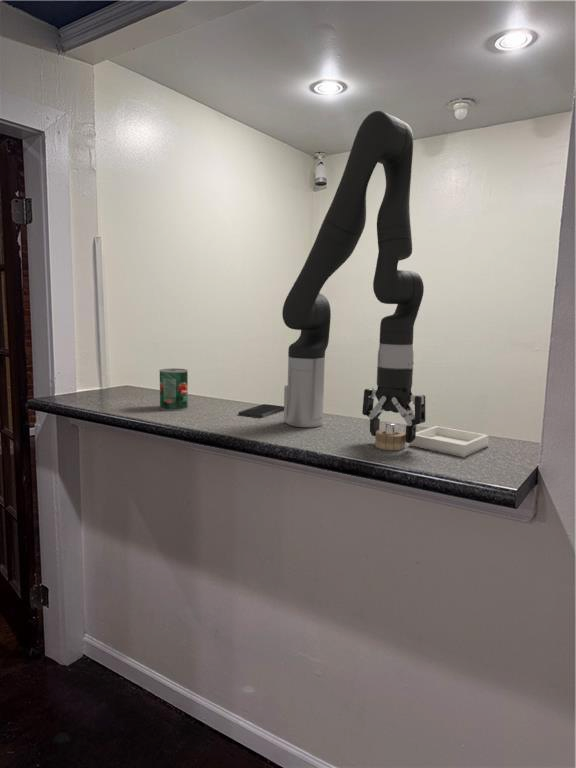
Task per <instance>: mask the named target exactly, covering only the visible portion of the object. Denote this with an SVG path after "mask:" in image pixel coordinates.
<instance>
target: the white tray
mask: <svg viewBox="0 0 576 768" xmlns="http://www.w3.org/2000/svg"><path fill="white" fill-rule="evenodd" d="M489 437H490V435H489V434H484V433H483V434H482V433H478V432H473V431H467V430H461V429H456V428H455V429H454V428H451V427H450V428H449V427H445V426H438V425H435V426H431V427H429V428H425V429H422V430H420V431H416V437H415V440H413V442H411V443H408V445H410V447H414V446H415V448H418V447H419V448H420V449H423V448H424V450H428V449H429V450H428V451H434V452H437V451H438V453H442V454H449V455H451V456H457V457H461V458H465V457H468V456H471V455H472V454H474V453H476V452H478V451H481V450H483V449H485V448H487V447H489V439H490V438H489Z"/></svg>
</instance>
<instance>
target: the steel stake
mask: <svg viewBox="0 0 576 768" xmlns="http://www.w3.org/2000/svg"><path fill="white" fill-rule="evenodd" d="M385 429H386V433H385V434H387V435H396V430H397V424H396V423H395V422H387V423H386V422H385Z"/></svg>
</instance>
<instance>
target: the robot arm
mask: <svg viewBox="0 0 576 768" xmlns="http://www.w3.org/2000/svg"><path fill="white" fill-rule="evenodd" d="M413 154H414V134H413V130H412V127H411V126H410V125H409V124H408V123H407V122H405V121H403V120H402V119H399V118H398V117H396V116H394V115H392V114H390V113H387V112H385V111H382V110H376V111H373V112H370V113H369V114H368V115H367V116H366V117H365V118H364V119H363V121H362V122H361V124H360V126H359V128H358V130H357V133H356V135H355V138H354V140H353V143H352V146H351V149H350V153H349V154H348V158H347V161H346V164H345V167H344V170H343V173H342V176H341V179H340V181H339V184H338V187H337V188H336V191H335V195H334V197H333V199H332V201H331V203H330V206H329V208H328V210H327V212H326V215H325V216H324V219H323V221H322V224H321V226H320V228H319V230H318V233H317V235H316V238H315V240H314V243H313V244H312V247H311V248H310V251H309V253H308V256H307V258H306V260H305V262H304V265H303V266H302V269H301V270H300V272H299V274H298V276H297V278H296V279H295V281H294V283H293V285H292V287H291V289H290V290H289V292H288V294H287V296H286V298H285V301H284V303H283V305H282V312H281V313H282V314H281V315H282V320H283V323H284V324H285V325H286V327H287V328H289V329H291V330H296V331H300V335H299V337H298V338H297V339H296V341H294V342H293V343H291V344H289V347H288V351H287V352H288V355H287V385H284V391H283V392H284V395H283V396H284V397H283V400H284V401H283V406H284V411H283V423H285V424H287V425H288V426H292V427H297V428H315V427H321V426H322V425H323V422H324V421H323V420H324V418H323V417H324V398H325V397H324V396H325V395H324V393H325V392H324V390H325V389H324V387H325V365H326V364H325V361H326V351H327V348H328V346H329V341H330V340H329V339H330V329H331V319H332V317H331V316H332V314H331V310H332V309H331V305H330V302H329V299H328V298H327V297H326V296H325V295H324V294H322V293H320V292H321V290H322V288H323V287H324V285H325V283H326V282H327V280H329V278H330V277H331V276H332V275H333V274H334V273H335V272H336V271H338V269H339V268H341V266H343V265H344V263H346V261H347V260H349V258H350V256H352V254H353V252H355V251H354V250H356V247H357V245H358V243H359V241H360V239H361V237H362V234H363V233H364V229H365V226H366V223H367V191H368V185H369V184H370V183H369V182H370V179H371V177H372V175H373V172H374V170H375V169H376V167H377V164H380V165H381V164H382V166H383V171H384V176H385V190H384V195H383V198H382V201H381V203H380V206H379V210H378V211H377V216H376V217H377V218H376V235H377V236H376V237H377V248H378V254H377V258H376V259H377V260H376V267H375V271H374V276H373V282H372V288H373V289H372V290H373V294H374V296H375V298H376V299H377V300H378V301H379V303H381V304H385V305H396V308H395V311H394V312H393V314H391V315H386V316H384V317H382V319H381V320H380V325H379V326H380V327H379V344H378V345H379V346H378V351H377V367H376V368H377V369H376V385H377V387H376V389H375V388H374V387H371V388H366V389H364V391H363V403H362V410H361V411H362V415H364V416H366V417H368V418H369V433H370V435H371V436H372V437H375V436H376V431H378V430H380V424H381V423H380V420H381V419H380V417H381V415H382V414H383V413H384V412H393V413H396V414H398V413H399V415H400V416H401V417H402V418H403V419H404V421H405V423H406V425H405V433H406V437H405V444H409V443H411V442H413V440H415V437H416V432H417V425H420V424H423V423H425V422H426V396H425V394H417V395H416V394H412V387H413V375H414V374H413V371H414V346H413V344H414V327H415V323H416V319H417V317H418V313H419V310H420V307H421V305H422V300H423V296H424V291H425V290H424V289H425V287H424V281H423V279H422V276H420V274H419V273H418V272H416V271H412V270H400V269H398V265H399V262H401V261H403V260H407V259H408V258H410V257H411V255H412V253H413V239H412V228H411V213H410V207H411V206H410V197H411V184H412V183H411V182H412V181H411V180H412V169H413V168H412V165H413ZM375 398H376V399H377V401H378V402H377V403H376V405H374V401H375ZM411 402H412V405H413V406H414V410H413V408H412V407H411V405H410V404H411Z"/></svg>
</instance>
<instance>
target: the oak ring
mask: <svg viewBox="0 0 576 768" xmlns="http://www.w3.org/2000/svg"><path fill="white" fill-rule="evenodd" d="M385 433H386V428H385V429H379V430H378V431H376V436H374V441H375V442H374V443H375V444H374V447H376V448H377V449H380V450H385V451H401V449H402V450H404V449H405V448H406V442H405V438H406V432H404V431H402V430H398V429H396V435H387V434H385Z"/></svg>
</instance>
